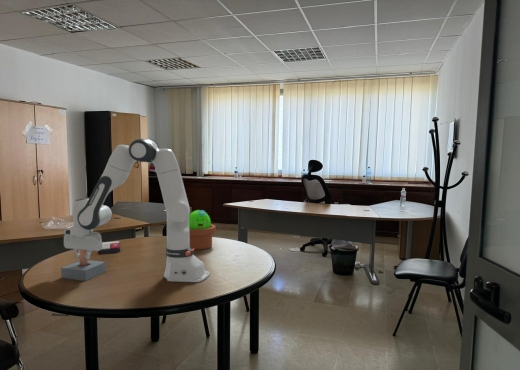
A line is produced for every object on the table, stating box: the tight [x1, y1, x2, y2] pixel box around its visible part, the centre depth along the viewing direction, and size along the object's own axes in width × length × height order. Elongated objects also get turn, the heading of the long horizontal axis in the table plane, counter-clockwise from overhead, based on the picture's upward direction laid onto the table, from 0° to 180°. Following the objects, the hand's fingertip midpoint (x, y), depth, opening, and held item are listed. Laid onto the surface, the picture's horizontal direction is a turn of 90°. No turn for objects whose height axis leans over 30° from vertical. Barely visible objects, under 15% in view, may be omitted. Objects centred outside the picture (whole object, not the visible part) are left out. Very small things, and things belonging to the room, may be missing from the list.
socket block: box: [60, 259, 107, 282], centre depth 170 cm, size 14×14×5 cm
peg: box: [79, 249, 88, 267], centre depth 169 cm, size 4×4×12 cm
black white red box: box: [99, 240, 121, 255], centre depth 215 cm, size 11×4×15 cm
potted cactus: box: [189, 209, 216, 250], centre depth 226 cm, size 22×22×25 cm
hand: (83, 258), depth 169 cm, fingers closed on peg, 3 cm apart
